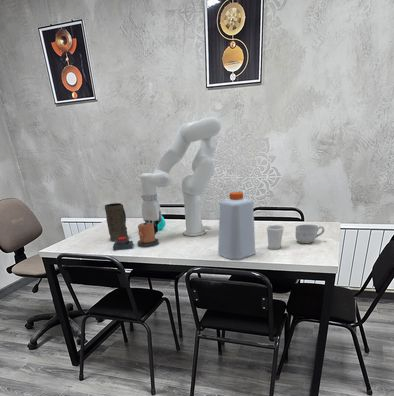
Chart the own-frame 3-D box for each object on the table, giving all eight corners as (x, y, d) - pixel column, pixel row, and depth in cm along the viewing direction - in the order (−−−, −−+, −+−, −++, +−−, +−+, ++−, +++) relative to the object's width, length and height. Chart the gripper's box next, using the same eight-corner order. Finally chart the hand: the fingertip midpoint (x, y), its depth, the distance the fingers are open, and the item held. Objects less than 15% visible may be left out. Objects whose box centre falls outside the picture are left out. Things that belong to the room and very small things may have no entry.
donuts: (167, 230, 214) (165, 213, 209) (158, 234, 207) (156, 217, 202) (153, 229, 218) (151, 212, 213) (144, 233, 211) (142, 216, 206)
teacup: (293, 244, 174) (294, 228, 170) (295, 238, 182) (297, 223, 178) (322, 245, 169) (324, 229, 165) (323, 239, 178) (325, 223, 174)
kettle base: (158, 240, 196) (158, 237, 195) (158, 246, 186) (158, 243, 185) (138, 242, 195) (137, 239, 194) (137, 248, 185) (136, 245, 185)
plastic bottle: (214, 254, 168) (212, 193, 154) (238, 247, 175) (238, 188, 161) (234, 261, 158) (234, 197, 143) (258, 254, 165) (260, 191, 150)
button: (126, 239, 188) (125, 236, 187) (125, 241, 185) (125, 238, 184) (119, 240, 188) (118, 237, 187) (118, 242, 185) (117, 239, 184)
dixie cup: (282, 244, 174) (284, 224, 169) (282, 250, 167) (284, 229, 162) (266, 244, 176) (266, 225, 171) (265, 250, 169) (266, 229, 164)
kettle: (149, 235, 198) (146, 218, 193) (162, 236, 195) (160, 219, 190) (133, 244, 185) (130, 226, 180) (147, 245, 182) (144, 227, 177)
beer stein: (124, 241, 198) (118, 205, 188) (106, 241, 200) (100, 205, 191) (133, 236, 211) (129, 201, 202) (117, 236, 213) (112, 202, 204)
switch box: (133, 244, 192) (132, 237, 190) (132, 248, 185) (131, 241, 183) (115, 246, 192) (114, 239, 190) (113, 250, 185) (112, 243, 183)
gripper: (134, 199, 186) (139, 233, 195) (158, 199, 179) (162, 235, 189) (141, 196, 191) (146, 229, 201) (166, 197, 185) (169, 231, 194)
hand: (154, 232), depth 195 cm, fingers closed on kettle
